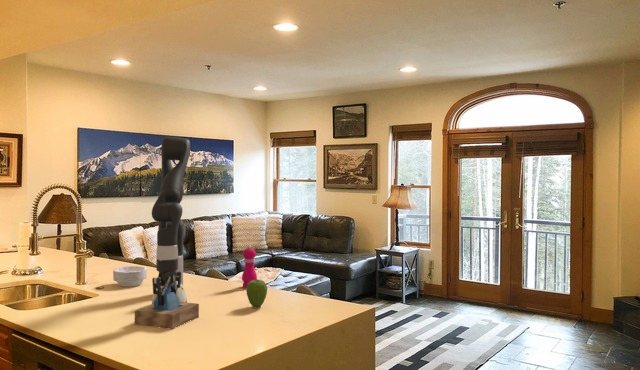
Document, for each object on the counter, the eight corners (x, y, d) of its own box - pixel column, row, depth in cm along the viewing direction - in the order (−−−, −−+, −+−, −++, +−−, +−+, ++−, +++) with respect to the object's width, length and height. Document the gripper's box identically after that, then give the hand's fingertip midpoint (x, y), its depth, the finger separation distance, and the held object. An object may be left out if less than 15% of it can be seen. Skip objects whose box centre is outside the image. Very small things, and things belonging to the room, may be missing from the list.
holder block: (134, 324, 178) (134, 310, 178) (163, 312, 193) (163, 300, 193) (172, 329, 172) (172, 314, 172) (198, 317, 188) (198, 303, 187)
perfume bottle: (166, 314, 187) (164, 282, 187) (179, 315, 184) (178, 282, 184) (154, 318, 181) (152, 285, 181) (168, 319, 178) (166, 286, 178)
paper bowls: (136, 289, 234) (136, 272, 233) (106, 287, 236) (106, 271, 236) (152, 282, 249) (152, 266, 248) (124, 281, 251) (124, 265, 251)
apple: (244, 305, 204) (244, 277, 204) (264, 303, 207) (264, 276, 207) (248, 311, 196) (248, 281, 196) (269, 309, 199) (269, 280, 199)
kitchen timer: (177, 310, 197) (177, 272, 196) (145, 308, 200) (145, 271, 199) (193, 301, 210) (192, 266, 210) (163, 300, 213) (162, 265, 213)
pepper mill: (238, 287, 237) (238, 245, 237) (247, 284, 243) (247, 243, 243) (251, 289, 234) (251, 246, 233) (259, 286, 240) (260, 244, 240)
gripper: (170, 254, 190) (170, 298, 190) (145, 259, 177) (145, 307, 177) (187, 255, 188) (187, 299, 188) (163, 261, 174) (163, 308, 174)
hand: (167, 303), depth 182 cm, fingers closed on perfume bottle, 6 cm apart
